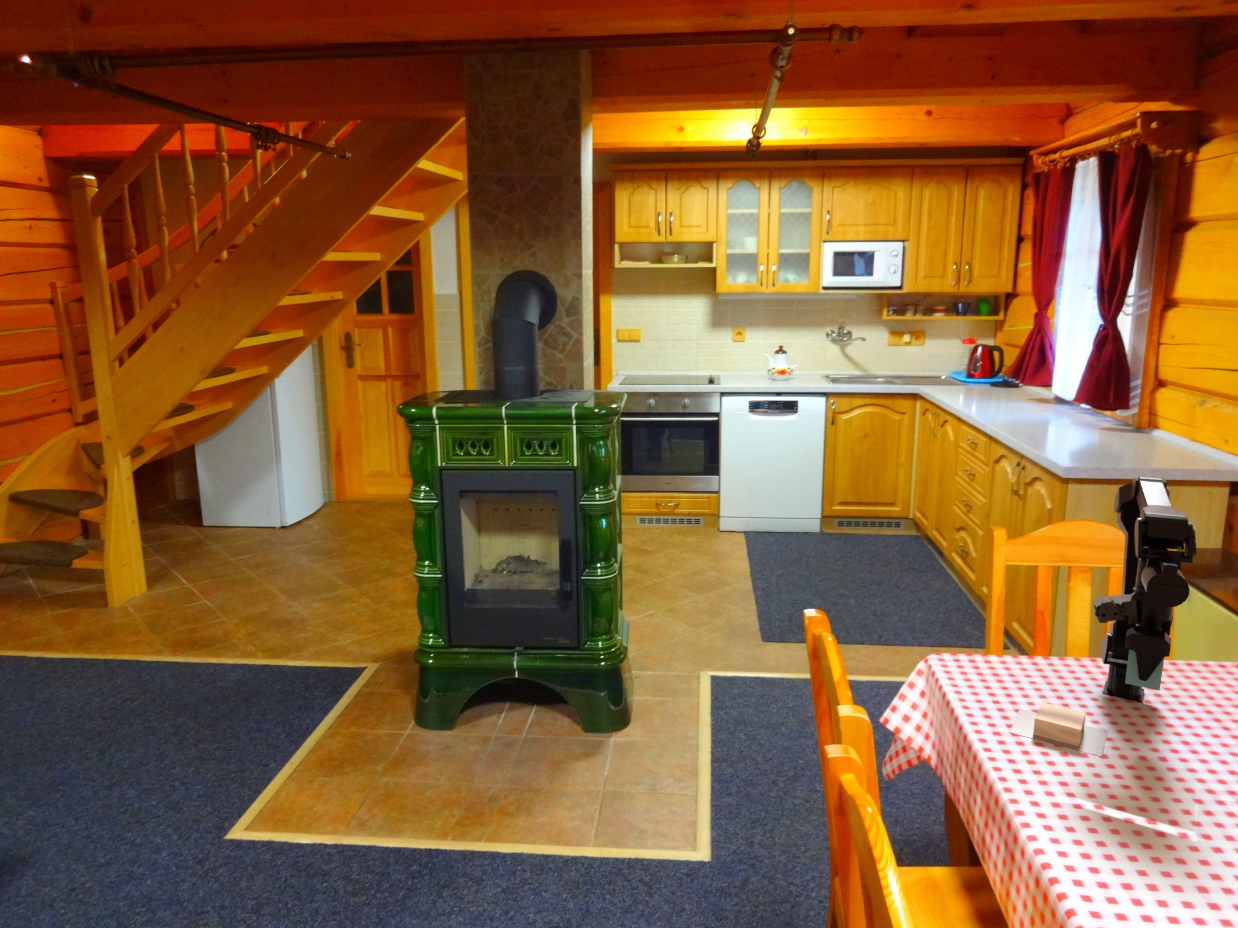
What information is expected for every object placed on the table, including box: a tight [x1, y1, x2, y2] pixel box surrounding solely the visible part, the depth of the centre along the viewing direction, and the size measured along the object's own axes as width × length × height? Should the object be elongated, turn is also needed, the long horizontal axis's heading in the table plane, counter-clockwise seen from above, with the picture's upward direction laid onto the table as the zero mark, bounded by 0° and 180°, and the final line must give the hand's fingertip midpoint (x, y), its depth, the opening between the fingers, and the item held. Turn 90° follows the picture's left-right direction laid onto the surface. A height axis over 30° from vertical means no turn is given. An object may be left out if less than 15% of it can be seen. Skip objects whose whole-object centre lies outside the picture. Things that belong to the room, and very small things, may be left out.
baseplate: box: [1009, 708, 1109, 758], centre depth 150 cm, size 10×14×1 cm
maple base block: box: [1033, 701, 1087, 746], centre depth 150 cm, size 7×7×3 cm
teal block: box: [1125, 650, 1165, 692], centre depth 147 cm, size 5×5×6 cm
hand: (1143, 674), depth 148 cm, fingers closed on teal block, 5 cm apart
